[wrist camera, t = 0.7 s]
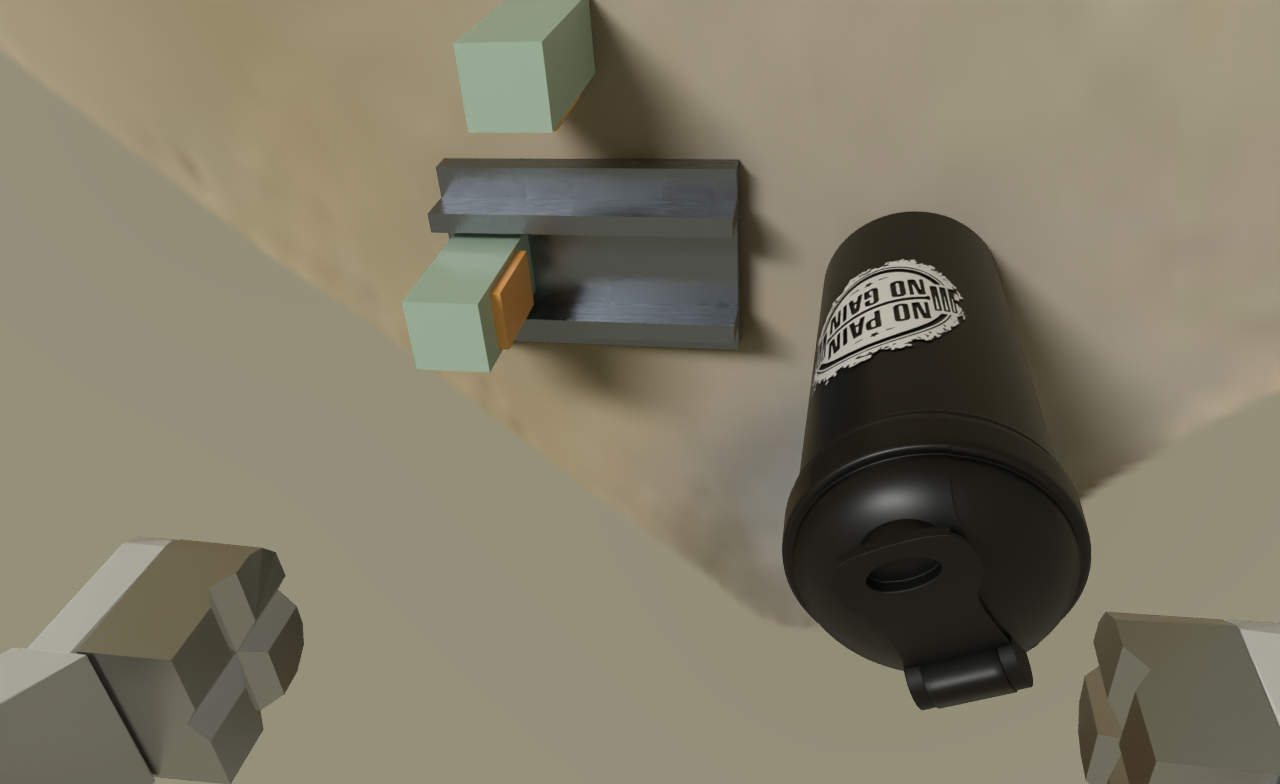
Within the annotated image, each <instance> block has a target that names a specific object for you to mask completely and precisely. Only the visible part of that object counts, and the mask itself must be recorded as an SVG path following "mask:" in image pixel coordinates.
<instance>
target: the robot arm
mask: <svg viewBox="0 0 1280 784" xmlns="http://www.w3.org/2000/svg"><path fill="white" fill-rule="evenodd" d="M284 577H285V573H284V571H283V568H282V566H281V564H280V561H279V559H278V557H277V554H276V552H273V551H270V550H267V549H264V548H258V547H248V546H239V545H230V544H220V543H210V542H201V541H191V540H172V539H163V538H153V537H144V536H139V537H136V538H134V539H131V540H129V541H127V542H124V543H123V544H122V545H121V546H120V547H119V548H118V549H117V550H116V551H115V553H114V554H113V555H112V556H111V557H110V558H109V559H108V560H107V561H106V562H105V564H104V565H103V566H102V567H101V568H100V569H99V570H98V571H97V572H96V573H95V575H94V576H93V577H92V578H91V579H90V580H89V581H88V582H87V583H86V584H85V586H84V587H83V588H82V589H81V590H80V591H79V592H78V593H77V594H76V595H75V596H74V598H73V599H72V600H71V601H70V602H69V603H68V604H67V605H66V606H65V607H64V609H63V610H62V611H61V612H60V613H59V614H58V615H57V616H56V617H55V618H54V620H53V621H52V622H51V623H50V624H49V625H48V626H47V627H46V628H45V630H44V631H43V632H42V633H41V634H40V635H39V636H38V637H37V638H36V639H35V640H34V641H33V643H32V644H31V645H30V646H29V647H28V648H16V647H14V648H12V649H10V650H8V651H6V652H4V653H2V654H0V784H153V783H154V781H155V779H154V778H153V777H160V778H171V779H181V780H191V781H202V782H212V783H222V784H231V783H232V781H233V779H234V777H235V776H236V774H237V773H238V771H239V769H240V767H241V766H242V764H243V763H244V761H245V759H246V758H247V756H248V754H249V753H250V751H251V749H252V748H253V746H254V744H255V743H256V741H257V739H258V738H259V736H260V734H261V733H262V731H263V724H262V718H261V711H260V710H262V709H263V708H265V707H266V706H267V705H269V704H271V703H272V702H273V701H275V700H276V699H278V698H279V697H281V696H282V695H284V694H285V692H286V690H287V689H288V687H289V685H290V683H291V682H292V680H293V678H294V676H295V674H296V673H297V670H298V666H299V662H300V658H301V654H302V650H303V645H304V639H303V623H302V620H301V617H300V614H299V611H298V609H297V606H296V605H295V604H294V603H292V602H291V601H290V600H289V599H288V598H287V597H286V596H285V595H283V594H282V593H281V592H280V591H279V590H278V588H279V587H280V585H281V583H282V581H283V579H284ZM1094 646H1095V650H1096V655H1097V658H1098V663H1099V667H1097V668H1096V669H1094V670H1093V671H1091V672H1090V673H1088V674H1087V675H1086V676H1085V677H1084V682H1083V687H1082V692H1081V697H1080V701H1079V724H1078V734H1079V744H1080V753H1081V758H1082V764H1083V769H1084V774H1085V779H1086V781H1087V782H1088V783H1089V784H1280V623H1267V622H1251V621H1237V620H1229V621H1227V622H1226V621H1224V620H1219V619H1204V618H1189V617H1175V616H1160V615H1145V614H1130V613H1116V612H1105V614H1104V615H1103V617H1102V618H1101V620H1100V621H1099V623H1098V627H1097V631H1096V634H1095V638H1094Z"/></svg>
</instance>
